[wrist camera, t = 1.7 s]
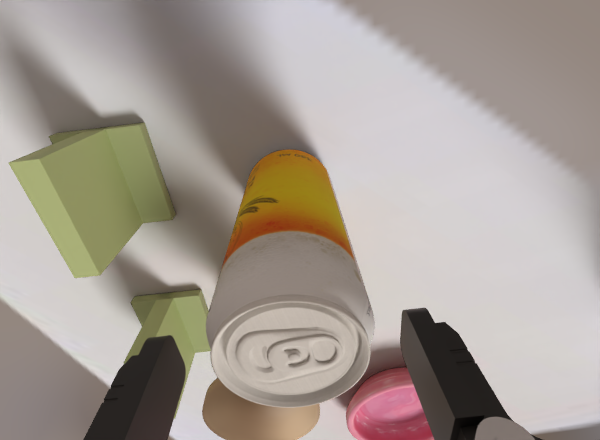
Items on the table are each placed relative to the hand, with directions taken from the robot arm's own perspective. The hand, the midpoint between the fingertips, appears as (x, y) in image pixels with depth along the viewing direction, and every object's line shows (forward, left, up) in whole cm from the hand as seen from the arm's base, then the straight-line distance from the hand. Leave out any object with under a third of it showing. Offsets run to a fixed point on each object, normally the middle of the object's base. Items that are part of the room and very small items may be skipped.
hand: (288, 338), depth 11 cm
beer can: (0, 0, -14) cm, 14 cm away
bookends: (+12, +5, -14) cm, 19 cm away
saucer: (-9, +27, -15) cm, 32 cm away
